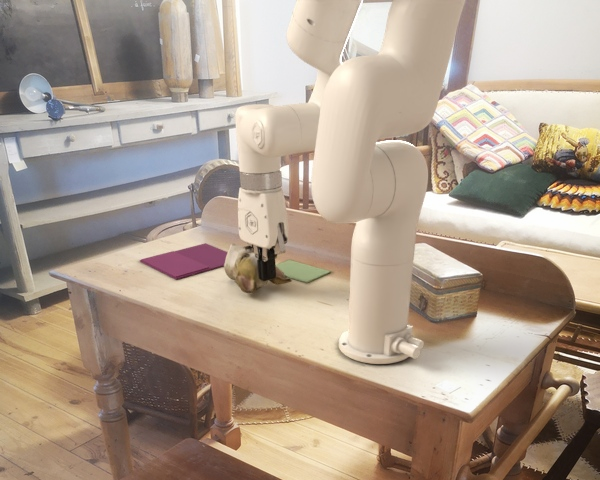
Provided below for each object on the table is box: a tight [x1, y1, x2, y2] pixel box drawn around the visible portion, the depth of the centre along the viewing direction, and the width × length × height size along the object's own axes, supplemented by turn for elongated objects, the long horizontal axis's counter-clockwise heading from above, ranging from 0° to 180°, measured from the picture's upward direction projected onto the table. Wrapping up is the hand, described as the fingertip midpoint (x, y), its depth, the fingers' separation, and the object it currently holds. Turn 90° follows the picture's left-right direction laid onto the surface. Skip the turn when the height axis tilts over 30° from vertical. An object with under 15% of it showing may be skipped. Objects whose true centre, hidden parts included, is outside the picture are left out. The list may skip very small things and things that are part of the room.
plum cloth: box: [139, 243, 228, 280], centre depth 136 cm, size 16×18×1 cm
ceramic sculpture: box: [223, 242, 293, 295], centre depth 120 cm, size 11×9×15 cm
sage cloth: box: [275, 259, 331, 284], centre depth 129 cm, size 12×8×1 cm, turn 49°
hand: (267, 278), depth 117 cm, fingers closed
